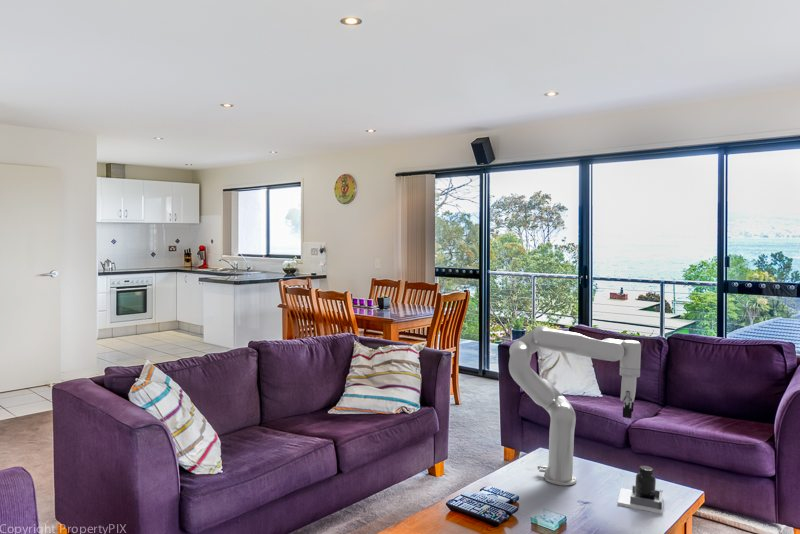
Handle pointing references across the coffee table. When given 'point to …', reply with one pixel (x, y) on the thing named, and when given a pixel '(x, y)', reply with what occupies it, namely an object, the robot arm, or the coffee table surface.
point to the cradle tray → (641, 500)
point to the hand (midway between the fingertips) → (628, 414)
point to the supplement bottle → (645, 483)
